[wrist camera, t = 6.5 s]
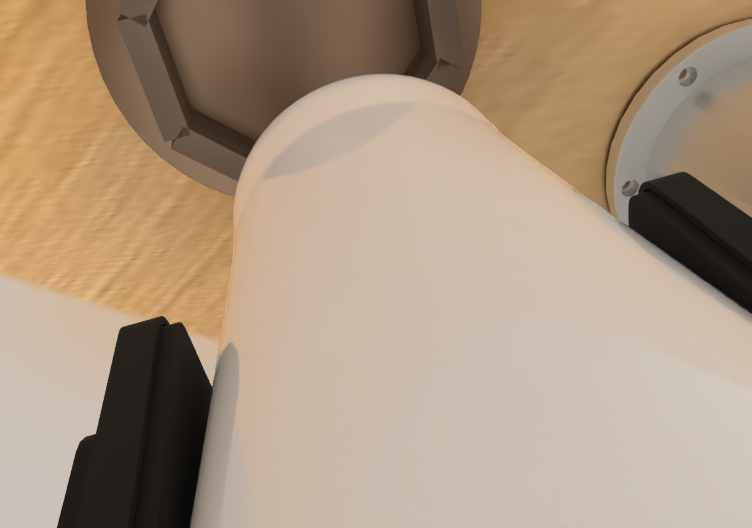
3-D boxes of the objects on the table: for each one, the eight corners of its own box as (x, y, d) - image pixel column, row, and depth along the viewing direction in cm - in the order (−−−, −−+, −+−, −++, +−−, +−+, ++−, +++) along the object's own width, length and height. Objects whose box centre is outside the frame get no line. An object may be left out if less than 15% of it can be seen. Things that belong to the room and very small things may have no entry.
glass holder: (444, -252, 24) (474, -266, 21) (493, 145, 32) (520, 174, 29) (14, -147, 23) (-15, -146, 20) (174, 233, 31) (169, 273, 28)
